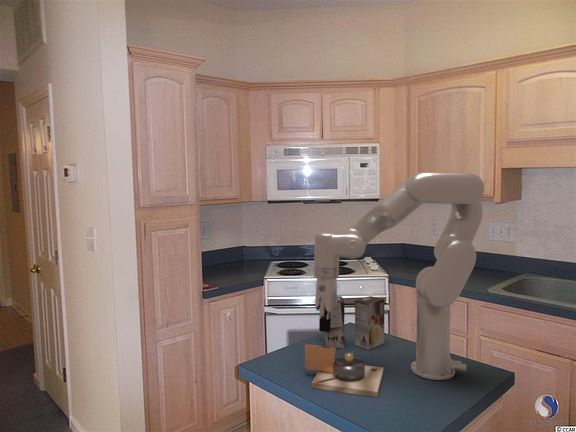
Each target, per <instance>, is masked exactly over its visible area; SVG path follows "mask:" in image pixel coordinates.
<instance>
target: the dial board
mask: <svg viewBox="0 0 576 432" xmlns="http://www.w3.org/2000/svg"><path fill="white" fill-rule="evenodd" d="M383 376H384V367H381V366H374V365H373V366H372V365H366V364H365V376H364V377H363V378H362V379H360V380H356V381H345V380H341V379H338V378H336V377H335V376H334V375H333V373H331V372H323V371H317V373H316V375H315V376H314V378H313V380H312V381H311V389H315V390H323V391H329V392H336V393H337V392H338V393H344V394H351V395H359V396H366V397H372V398H378V396H379V391H380V389H381V383H382V380H383Z"/></svg>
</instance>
